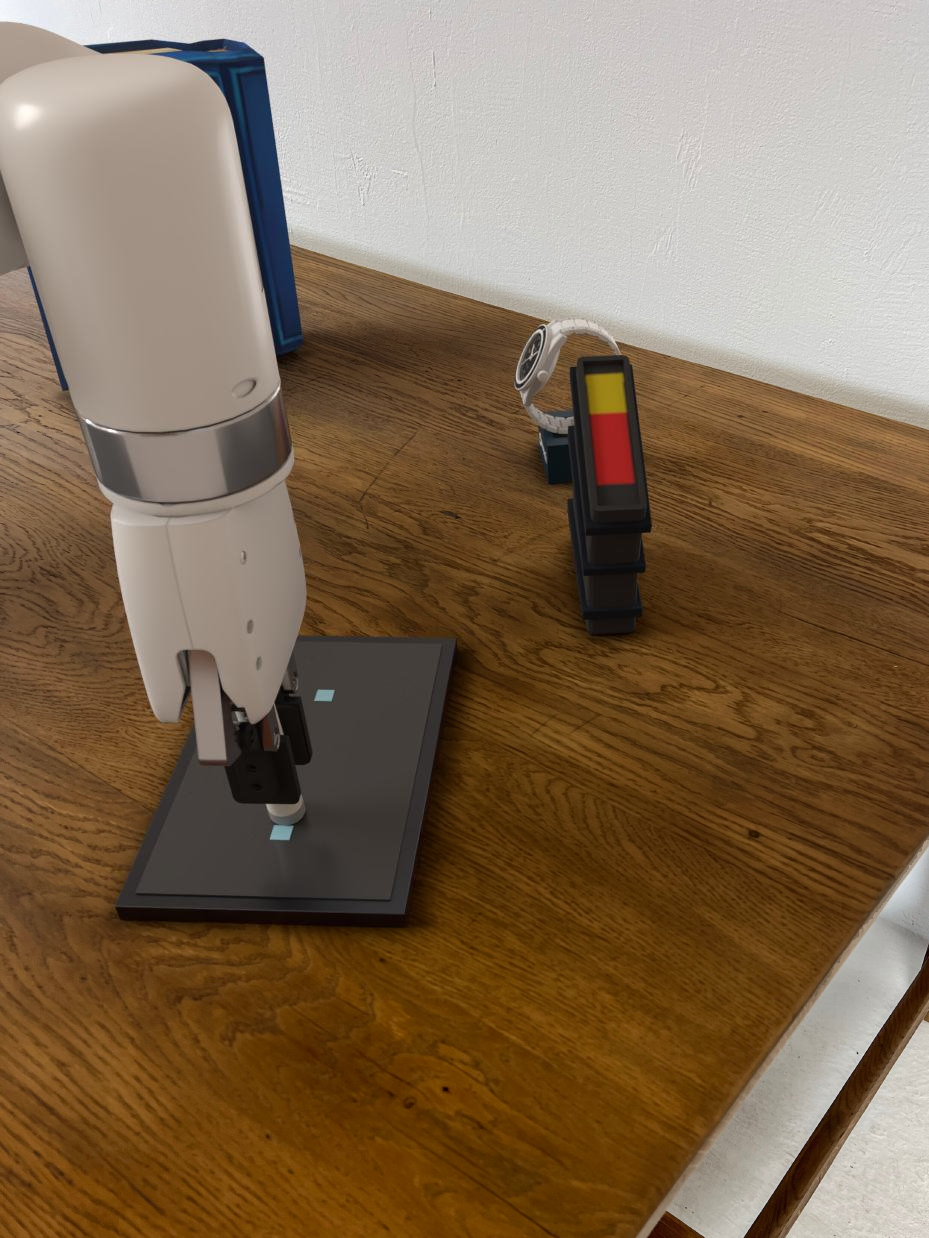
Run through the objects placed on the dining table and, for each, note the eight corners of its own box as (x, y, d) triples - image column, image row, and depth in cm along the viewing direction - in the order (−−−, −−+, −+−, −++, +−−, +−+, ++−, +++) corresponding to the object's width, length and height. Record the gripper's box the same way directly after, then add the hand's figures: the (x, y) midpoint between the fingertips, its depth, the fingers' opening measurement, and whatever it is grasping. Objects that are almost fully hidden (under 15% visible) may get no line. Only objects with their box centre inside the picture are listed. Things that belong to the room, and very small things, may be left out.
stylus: (265, 825, 59) (225, 707, 52) (274, 796, 60) (235, 677, 53) (301, 826, 59) (265, 709, 52) (308, 798, 60) (275, 679, 53)
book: (283, 328, 109) (228, 20, 92) (321, 352, 105) (271, 33, 88) (60, 394, 99) (-47, 60, 82) (93, 422, 95) (-13, 78, 78)
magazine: (616, 498, 81) (633, 349, 68) (634, 664, 77) (657, 540, 63) (563, 501, 81) (570, 352, 67) (579, 667, 76) (589, 544, 62)
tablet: (119, 919, 56) (112, 904, 55) (235, 646, 72) (231, 631, 71) (406, 927, 55) (404, 912, 54) (458, 650, 71) (456, 635, 70)
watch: (514, 451, 90) (507, 312, 83) (614, 443, 91) (617, 304, 84) (522, 486, 86) (516, 343, 79) (627, 477, 87) (631, 335, 80)
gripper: (154, 347, 50) (238, 678, 63) (13, 544, 38) (151, 902, 51) (325, 349, 50) (375, 680, 62) (236, 546, 38) (320, 906, 51)
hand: (274, 777), depth 56 cm, fingers closed on stylus, 2 cm apart
